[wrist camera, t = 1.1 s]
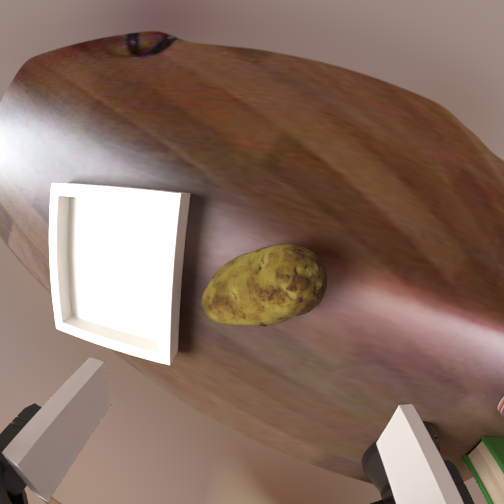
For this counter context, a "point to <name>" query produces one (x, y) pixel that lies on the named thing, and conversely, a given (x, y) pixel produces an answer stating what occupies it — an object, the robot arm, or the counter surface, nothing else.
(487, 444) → the hardback book
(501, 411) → the pill bottle
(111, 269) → the tray
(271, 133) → the counter surface
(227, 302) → the potato
